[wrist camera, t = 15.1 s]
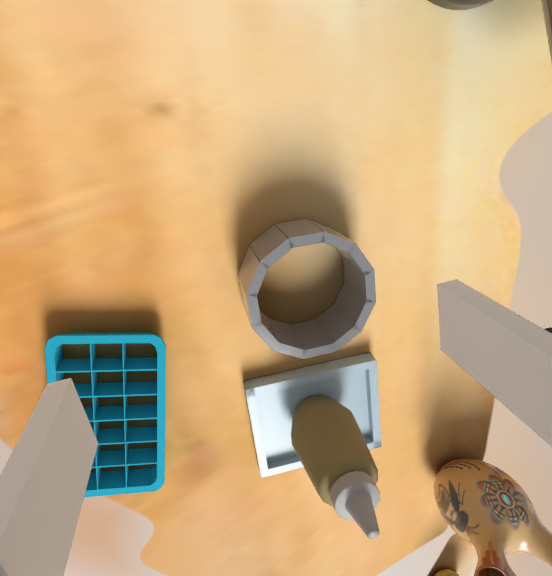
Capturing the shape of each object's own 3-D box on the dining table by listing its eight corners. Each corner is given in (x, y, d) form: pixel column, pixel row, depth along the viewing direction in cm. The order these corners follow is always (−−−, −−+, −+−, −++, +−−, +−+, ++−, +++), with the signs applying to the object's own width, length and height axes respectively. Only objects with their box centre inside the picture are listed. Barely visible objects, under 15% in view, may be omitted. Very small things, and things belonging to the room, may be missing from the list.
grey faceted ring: (347, 211, 49) (371, 222, 43) (355, 318, 54) (378, 342, 48) (230, 231, 48) (238, 247, 42) (249, 341, 52) (258, 369, 46)
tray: (369, 352, 56) (376, 359, 54) (375, 436, 61) (381, 446, 59) (243, 380, 54) (245, 390, 52) (258, 466, 58) (261, 477, 57)
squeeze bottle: (276, 399, 55) (319, 519, 38) (338, 376, 55) (407, 483, 39) (293, 449, 58) (340, 580, 41) (352, 427, 58) (421, 546, 42)
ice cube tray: (63, 479, 54) (57, 499, 51) (51, 323, 47) (43, 336, 44) (164, 472, 56) (164, 490, 54) (166, 323, 50) (165, 334, 47)
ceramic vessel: (512, 444, 67) (690, 613, 44) (492, 494, 69) (650, 677, 46) (414, 442, 63) (553, 627, 40) (397, 494, 65) (518, 696, 42)
